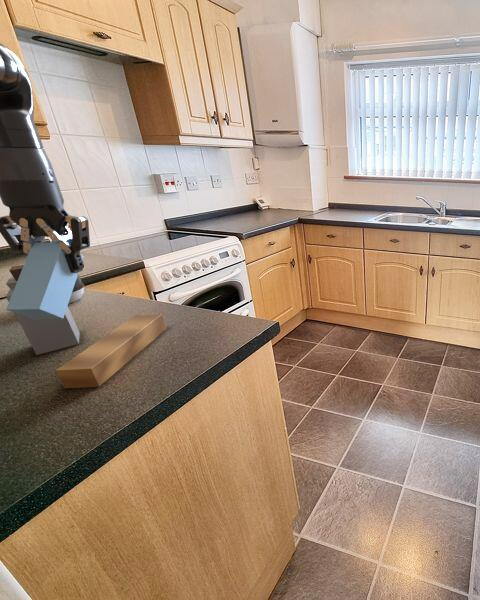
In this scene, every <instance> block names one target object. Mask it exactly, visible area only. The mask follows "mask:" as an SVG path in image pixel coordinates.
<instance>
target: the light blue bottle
mask: <svg viewBox="0 0 480 600" xmlns="http://www.w3.org/2000/svg"><path fill="white" fill-rule="evenodd" d="M67 227H68V228H69V230H70V231H71V228H70V227H69V226H68V225H67ZM71 232H72V231H71ZM59 236H63V234H61V235H59ZM68 245H69V244H68ZM64 254H66V253H65V252H64V251H63V250H62V249H61V247H60V246H59V245H58V244H57V243H54V242H53V241H52V240H51V241H50V242H43V243H33V246H32V248H31V249H30V251H29V254H28V255H27V256H26V258H25V261H24V264H23V265H24V266H23V269H22V271H21V274H20V276H19V279H18V281H17V284H16V286H15V288H14V291H13V293H12V296H11V298H10V301H9V302H8V304H7V306H6V308H5V310H6V311H8V312H12V313H14V314H15V313H17V314H20V315H22V316H25V317H28V318H31V319H63V318H64V315H65V312H66V309H67V306H68V307H69V304H70V303H69V300H70V297H71V294H72V291H73V288H74V285H75V282H76V279H77V276H78V275H79V273H80V272H78V273H71V272H70V269H69V266H68V264H67V261H66V258H65V255H64ZM80 255H81V258H82V261H83V260H84V258H85V256H84V255H83V254H81V253H80ZM83 262H84V261H83ZM68 303H69V304H68Z"/></svg>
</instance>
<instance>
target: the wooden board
mask: <svg viewBox="0 0 480 600" xmlns="http://www.w3.org/2000/svg"><path fill="white" fill-rule="evenodd" d="M167 329H168V328H167V326H166V323H165V319H164V316H163V314H161V313H160V314H159V313H154V314H152V313H151V314H135V315H134V316H132V317H130V318H129V319H128V320H126V321H125V322H123V323H122V324H120V325H119V326H117V327H116V328H115V329H113V330H112V331H110V332H109V333H107V334H106V335H104V336H103V337H102V338H100V339H99V340H97V341H96V342H94V343H93V344H91V345H90V346H88V347H87V348H85V349H84V350H83V351H81V352H80V353H78V354H77V355H75V356H74V357H73V358H71V359H70V360H68V361H66V362H65V363H64V364H62V365H61V366H59V367H58V368H56V369H55V373H56V375H57V376H58V379H59V381H60V383H61V385H62V386H63V388H64V389H81V388H100V387H102V385H103V384H105V382H107V381H108V380H109V379H110V378H111V377H112V376H114V375H115V374H116V373H117V372H118V371H119V370H120V369H122V368H123V367H124V366H125V365H126V364H128V363H130V361H131V360H132V359H133V358H135V357H136V356H137V355H138V354H139V353H140V352H141V351H143V350H144V349H145V348H146V347H148V345H150V344H151V343H152V342H153V341H154V340H155V339H157V338H158V337H159V336H160V335H161V334H163V333H164V332H165V331H166V330H167Z"/></svg>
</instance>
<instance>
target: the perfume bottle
mask: <svg viewBox="0 0 480 600" xmlns="http://www.w3.org/2000/svg"><path fill="white" fill-rule="evenodd" d="M23 266H24V264H21V265H13V266H11V267H10V269H9V270H8V271H9V273H10V274H11V276H10V277H9V278H8V280H7V281H6V283H5V285H6V286H7V287H8V288H9V290H8V292H7V293H6V295H5V299H6V300H7V302H8V303H9V301H10V298H11V296H12V293H13V291H14V288H15V286H16V284H17V281H18V279H19V276H20V274H21V271H22V269H23ZM14 315H15V317H16V319H17V321H18V323H19V325H20V327H21V329H22V330H23V332H24V334H25V336H26V338H27V340H28V342H29V344H30V345H31V347H32V349H33V351H34V353H35V355H36V356H38V355H42V354H46V353H51V352H54V351H58V350H61V349H65V348H69V347H74V346H77V345H80V335H81V332H80V330H79V328H78V326H77V323H76V322H75V319H74V317H73V315H72V312H71V310H70V308H69V305H68V306H67V309H66V312H65V315H64V318H63V319H31V318H28V317H25V316H22V315H20V314H17V313H14Z"/></svg>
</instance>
